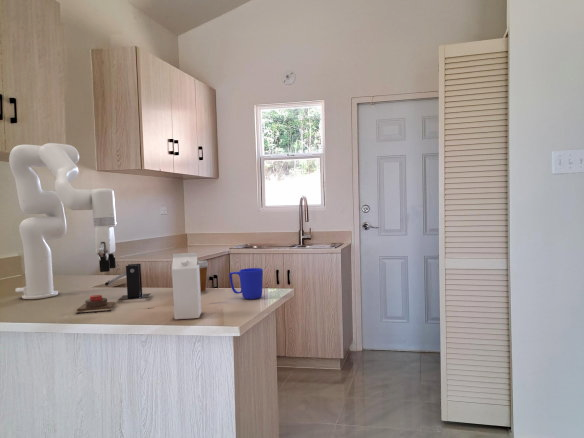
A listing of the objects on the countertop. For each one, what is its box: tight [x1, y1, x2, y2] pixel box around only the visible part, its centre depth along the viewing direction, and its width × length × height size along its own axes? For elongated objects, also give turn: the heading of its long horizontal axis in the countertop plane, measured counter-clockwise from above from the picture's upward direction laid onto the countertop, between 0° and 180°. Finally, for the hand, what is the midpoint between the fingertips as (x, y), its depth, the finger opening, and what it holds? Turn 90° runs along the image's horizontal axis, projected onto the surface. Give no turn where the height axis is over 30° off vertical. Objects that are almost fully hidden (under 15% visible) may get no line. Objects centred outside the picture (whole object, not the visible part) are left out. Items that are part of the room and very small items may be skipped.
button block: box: [76, 297, 116, 315], centre depth 155 cm, size 10×8×4 cm
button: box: [89, 294, 103, 301], centre depth 155 cm, size 4×4×2 cm
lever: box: [104, 271, 126, 287], centre depth 170 cm, size 12×5×2 cm, turn 99°
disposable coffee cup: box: [198, 259, 209, 292], centre depth 178 cm, size 10×10×12 cm
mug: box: [228, 267, 264, 300], centre depth 164 cm, size 8×12×10 cm
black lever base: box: [118, 263, 151, 301], centre depth 170 cm, size 10×8×13 cm
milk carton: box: [171, 252, 202, 320], centre depth 140 cm, size 7×7×19 cm
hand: (108, 270), depth 169 cm, fingers open, 9 cm apart
